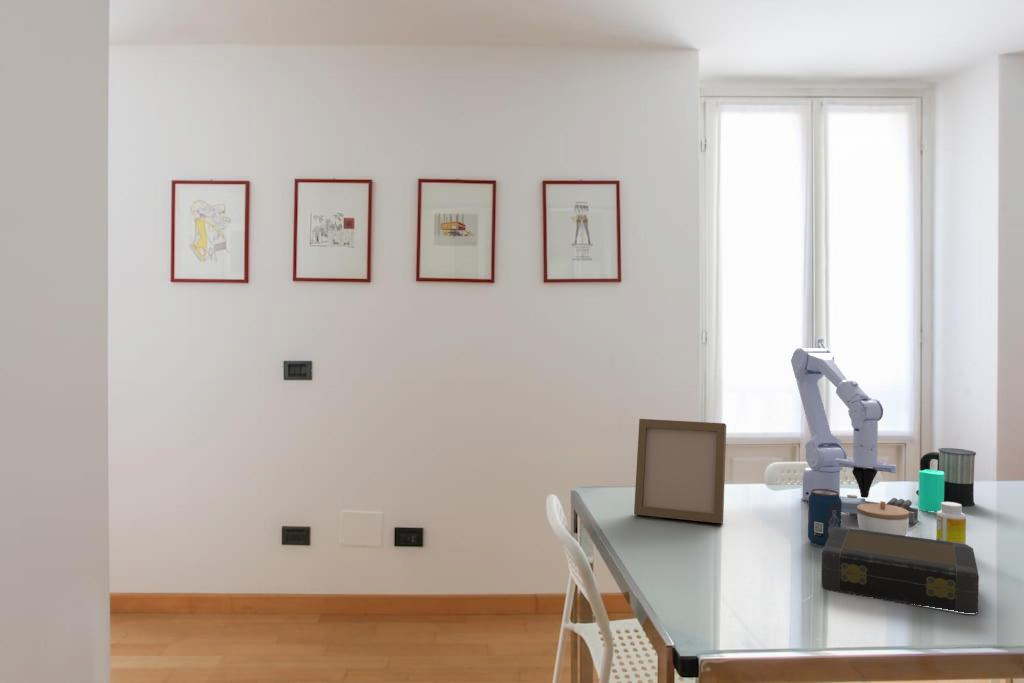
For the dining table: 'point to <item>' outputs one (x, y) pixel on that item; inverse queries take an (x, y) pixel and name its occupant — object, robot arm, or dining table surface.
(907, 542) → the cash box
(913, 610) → the dining table surface
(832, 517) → the soda can
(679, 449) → the photo frame
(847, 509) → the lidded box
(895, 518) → the lidded jar
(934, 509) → the candle
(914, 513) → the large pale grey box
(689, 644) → the dining table surface
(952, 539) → the supplement bottle
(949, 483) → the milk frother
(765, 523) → the dining table surface
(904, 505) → the grey ridged block
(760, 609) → the dining table surface
